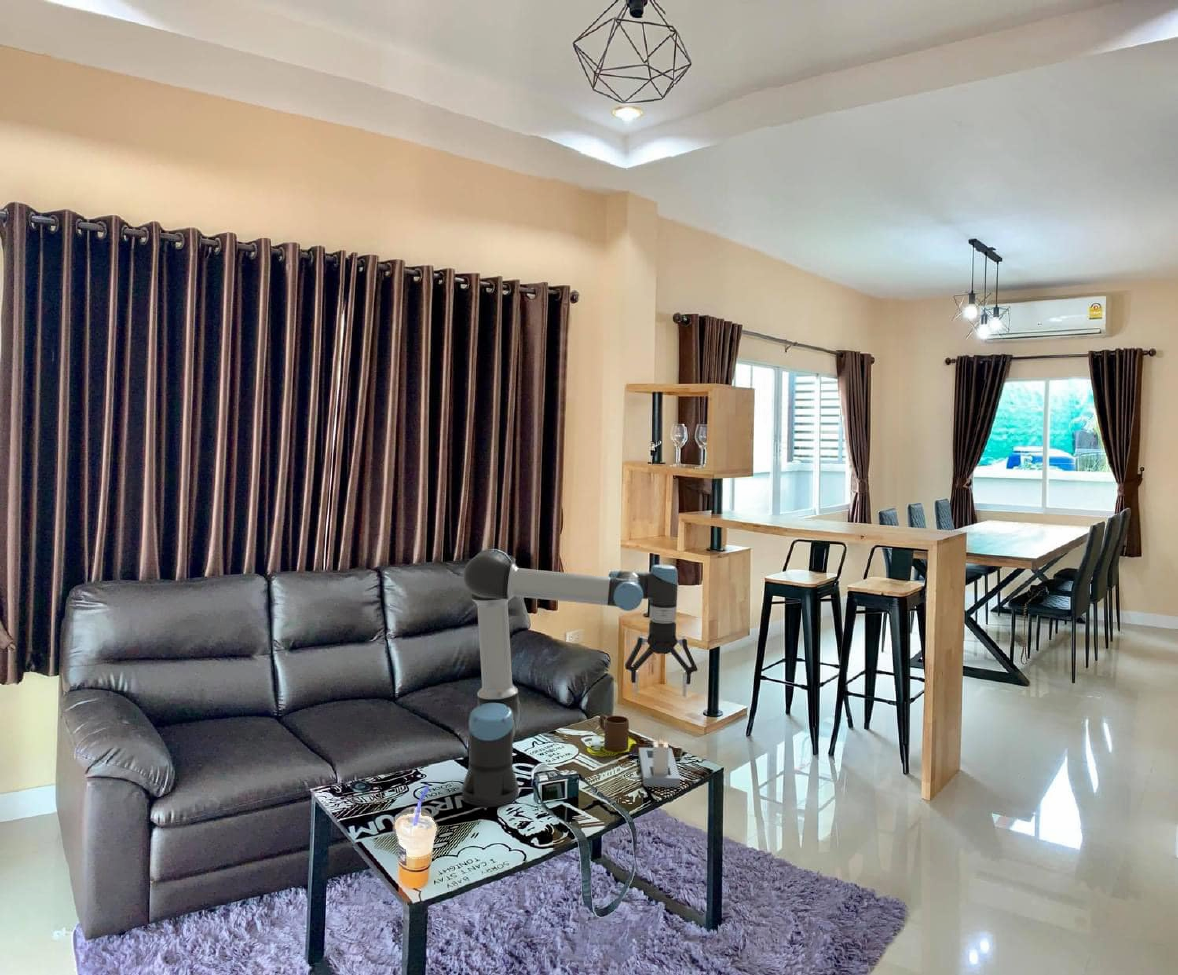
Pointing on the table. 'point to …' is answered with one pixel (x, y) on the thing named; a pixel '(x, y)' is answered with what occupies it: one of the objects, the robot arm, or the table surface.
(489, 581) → the robot arm
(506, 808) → the table surface
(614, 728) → the mug
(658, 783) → the panel
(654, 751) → the plug
